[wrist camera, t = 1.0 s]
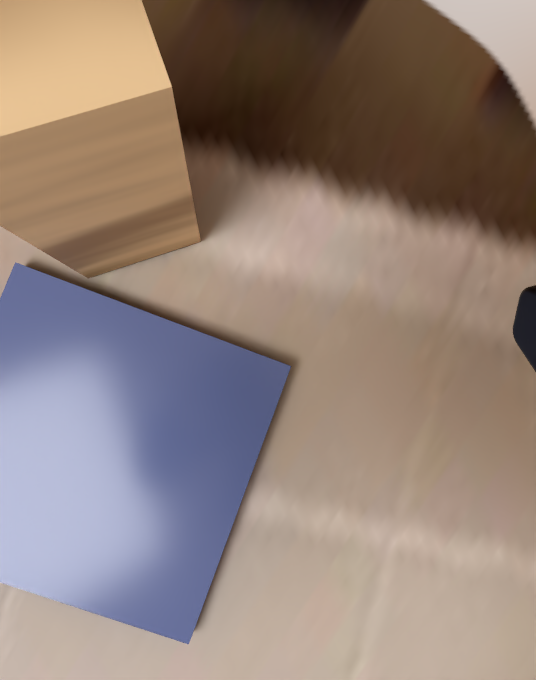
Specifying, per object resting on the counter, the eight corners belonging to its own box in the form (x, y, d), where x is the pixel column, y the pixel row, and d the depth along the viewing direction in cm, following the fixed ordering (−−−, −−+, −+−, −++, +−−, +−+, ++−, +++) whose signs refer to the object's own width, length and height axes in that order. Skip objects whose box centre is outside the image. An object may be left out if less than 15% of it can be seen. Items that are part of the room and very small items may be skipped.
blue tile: (189, 635, 20) (188, 644, 20) (-94, 542, 19) (-104, 548, 19) (289, 366, 21) (291, 366, 20) (21, 265, 20) (15, 262, 20)
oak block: (200, 241, 21) (171, 86, 9) (88, 278, 20) (-101, 165, 9) (162, 132, 21) (83, -165, 9) (49, 166, 21) (-193, -101, 9)
